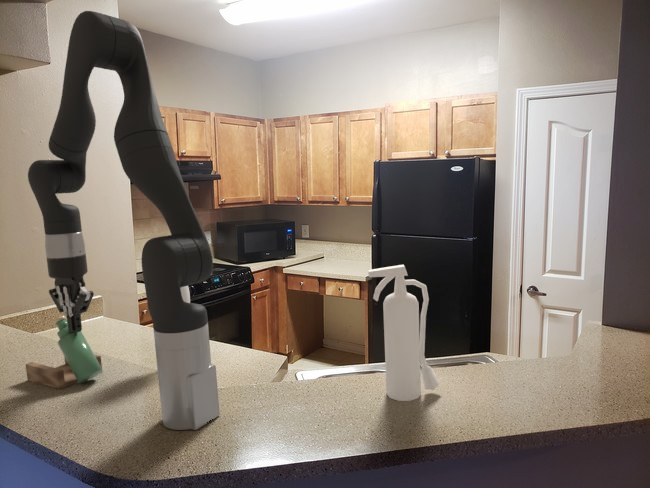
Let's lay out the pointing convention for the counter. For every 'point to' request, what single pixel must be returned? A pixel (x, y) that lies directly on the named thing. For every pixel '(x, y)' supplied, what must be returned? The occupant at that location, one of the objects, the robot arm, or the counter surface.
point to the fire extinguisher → (404, 336)
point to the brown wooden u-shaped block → (53, 374)
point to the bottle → (77, 352)
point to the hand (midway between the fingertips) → (75, 331)
